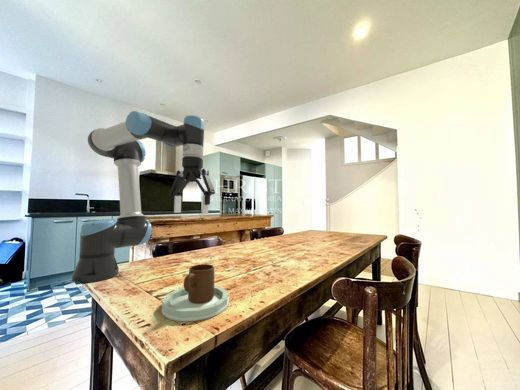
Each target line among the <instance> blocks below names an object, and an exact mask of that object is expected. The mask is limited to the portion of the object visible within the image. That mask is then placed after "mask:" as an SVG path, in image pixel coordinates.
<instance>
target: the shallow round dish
mask: <svg viewBox="0 0 520 390" xmlns="http://www.w3.org/2000/svg"><path fill="white" fill-rule="evenodd" d="M229 304H230V298H229V291H227V290H226V289H225V288H223V287H222V286H217V285H214V297H213V299H212V300H210V301H208V302H206V303H192V302H190V301H189V299H188V292H187V291H186V290H185V289H184V287H182V288H178V289H176V290H174V291H172V292H170V293H167V294H166V295H165V297H164V298H163V299H162V301H161V314H162V316H163V317H164V318H166V319H168V320H170V321H176V322H189V323H190V322H199V321H203V320H206V319H207V320H208V319H211V318H213V317H216V316H218V315H220V314H221V313H224V312H225V310H226V309H228V307H229Z"/></svg>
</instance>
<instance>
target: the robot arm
mask: <svg viewBox="0 0 520 390" xmlns="http://www.w3.org/2000/svg"><path fill="white" fill-rule="evenodd" d="M145 139H152V140H154V141H158V142H162V143H163V145H165V146H166V147H169V148H176V147H180V146H182V158H181V159H182V160H181V161H182V163H181V166H182V168H183V170H176V175H175V178H174V181H173V183H172V186H171V187H170V190H169V194H170V195H173V213H174V214H177V213H179V214H180V213H182V193H183V191H184V190H185V188H186V186H187V185H188V184H189V183H196V184H197V185H198V188H199V189H200V190H201V192H202V194H203V195H202V196H201V215H209V205H210V204H211V196H212V195H215V194H216V191H215V188H214V186H213V182H212V180H211V177H210V174H209V173H210V172H209V169H206V168H204V159H203V158H204V140H205V121H204V119H203V118H202V117H200V116H197V115H194V114H193V115H185V116H184V118H183V124H181V125H173V124H172V123H169V122H165V121H164V120H161V119H158V118H157V117H153V116H151V115H148V114H146V113H144V112H139V111H137V110H132V111H130V112H129V114H128V115H127V116H126V118H125V121H122V122H120V123H118V124H114V125H112V126H109V127H106V128H103V127H100V128H96V129H94V130H92V131H91V132H90V133H89V134H88V135H87V143H88V146H89V147H90V149H91V150H92V151H93V152H95V153H96V154H97V155H99V156H102V157H103V158H104V157H105V158H110V159H113V164H114V165H115V166H116V167H117V173H118V174H117V177H118V178H117V179H118V192H119V193H118V194H119V211H120V214H119V216H118V217H117V218H104V219H103V218H102V219H95V220H90V221H87V222H86V221H85V222H84V223H82V225H81V226H80V227H81V228H80V229H81V230H80V232H79V236H80V237H79V239H80V240H79V254H78V255H79V256H78V261H77V263H76V266H75V268H74V269H73V273H72V277H71V279H72V280H71V281H72V282H74V283H79V284H80V283H81V284H82V283H94V282H99V281H104V280H107V279H112V278H113V277H114V278H115V277H116V276H118V275H119V269H120V268H119V266H118V262H117V260H116V256H115V249H118V248H127V247H133V246H134V247H136V246H139V245H145V244H146V243H147V242H148V241H149V240H150V237H151V235H152V232H153V231H152V229H153V228H152V223H151V222H150V221H149V220H148V219H146V215H145V214H143V213H142V203H141V190H140V178H139V175H140V174H139V167H140V166H141V165H142V163H143V162H144V161H145V159H146V154H147V153H146V148H145V146H144V144H143V142H141V141H140V140H145Z"/></svg>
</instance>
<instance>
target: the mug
mask: <svg viewBox="0 0 520 390" xmlns="http://www.w3.org/2000/svg"><path fill="white" fill-rule="evenodd" d="M214 286H215V266H214V265H212V264H207V263H206V264H203V263H202V264H196V265H195V264H194V265H192V266H190V267H189V270H188V274H187V275H185V278H184V280H183V288H184V289H185V290H186V291H187V292H188V299H189V301H190V302H192V303H206V302H208V301H210V300H212V299H213V297H214Z"/></svg>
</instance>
